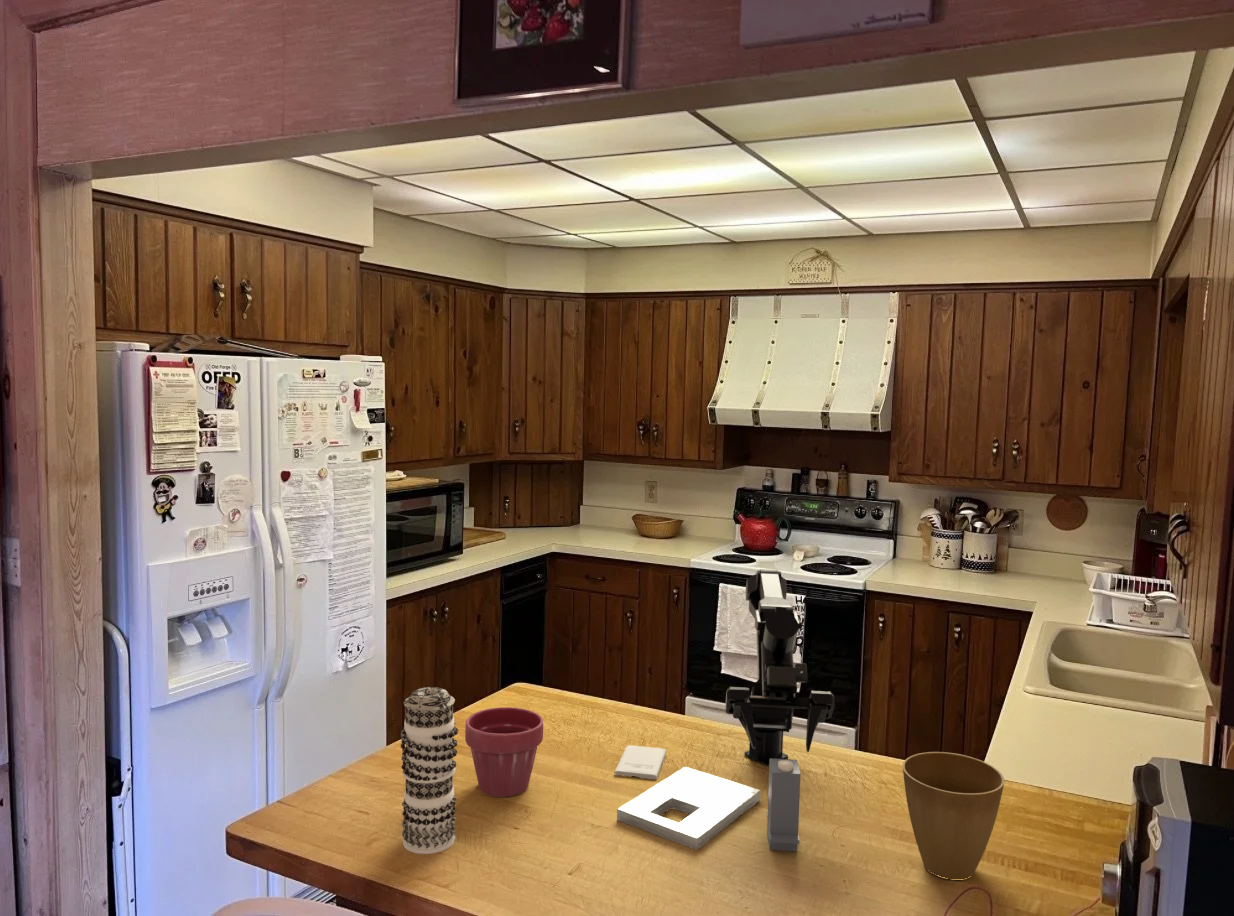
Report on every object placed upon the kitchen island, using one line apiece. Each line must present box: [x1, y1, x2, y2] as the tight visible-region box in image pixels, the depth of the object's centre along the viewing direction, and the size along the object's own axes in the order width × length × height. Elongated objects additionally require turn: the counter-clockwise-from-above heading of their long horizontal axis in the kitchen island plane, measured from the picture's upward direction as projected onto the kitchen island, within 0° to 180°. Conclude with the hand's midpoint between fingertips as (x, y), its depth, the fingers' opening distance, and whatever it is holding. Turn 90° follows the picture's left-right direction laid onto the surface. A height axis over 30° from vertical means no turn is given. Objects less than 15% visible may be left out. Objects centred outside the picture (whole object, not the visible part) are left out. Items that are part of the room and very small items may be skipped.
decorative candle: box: [399, 686, 459, 855], centre depth 148 cm, size 9×9×25 cm
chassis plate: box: [616, 766, 761, 851], centre depth 161 cm, size 22×16×2 cm
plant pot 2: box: [902, 751, 1005, 879], centre depth 143 cm, size 15×15×16 cm
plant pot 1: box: [464, 706, 544, 798], centre depth 168 cm, size 14×14×13 cm
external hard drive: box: [614, 744, 667, 780], centre depth 180 cm, size 2×8×12 cm
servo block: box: [766, 758, 802, 852], centre depth 150 cm, size 9×4×14 cm, turn 175°
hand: (781, 749), depth 156 cm, fingers open, 9 cm apart
